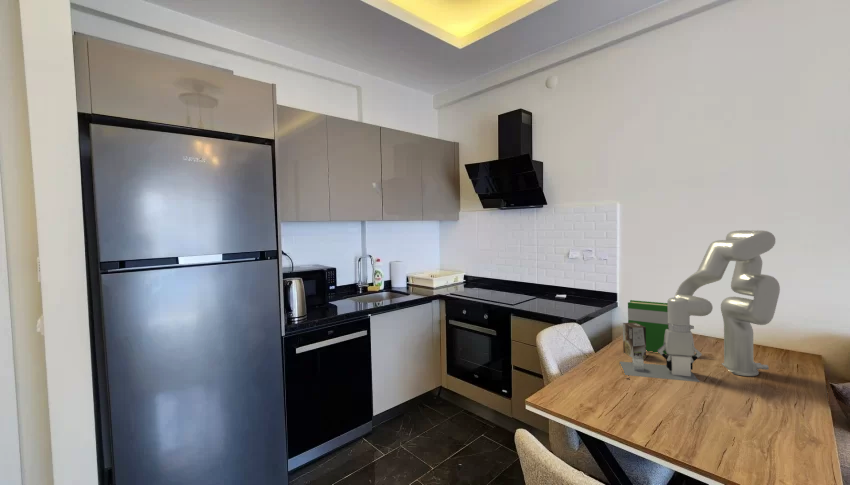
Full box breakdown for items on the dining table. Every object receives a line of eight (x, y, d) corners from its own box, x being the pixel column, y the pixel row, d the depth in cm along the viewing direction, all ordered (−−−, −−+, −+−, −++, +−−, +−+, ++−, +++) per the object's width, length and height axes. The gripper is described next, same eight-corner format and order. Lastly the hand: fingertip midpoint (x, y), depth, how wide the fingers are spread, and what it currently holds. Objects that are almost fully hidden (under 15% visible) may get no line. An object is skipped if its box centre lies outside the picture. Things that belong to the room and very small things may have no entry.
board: (686, 370, 157) (686, 366, 157) (700, 385, 142) (700, 381, 142) (619, 364, 166) (619, 361, 166) (625, 378, 151) (625, 374, 151)
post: (641, 368, 157) (641, 356, 157) (643, 371, 154) (643, 359, 154) (632, 367, 158) (632, 356, 158) (634, 370, 155) (633, 358, 155)
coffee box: (647, 361, 169) (646, 327, 168) (633, 361, 169) (632, 327, 168) (636, 354, 178) (635, 322, 177) (622, 354, 178) (622, 322, 177)
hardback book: (628, 348, 186) (627, 302, 186) (631, 344, 192) (630, 300, 191) (669, 355, 175) (669, 306, 175) (671, 350, 181) (670, 303, 180)
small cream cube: (685, 370, 153) (685, 352, 153) (690, 376, 147) (690, 357, 147) (668, 369, 155) (668, 351, 155) (672, 374, 149) (672, 356, 149)
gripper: (700, 326, 151) (700, 368, 151) (652, 324, 157) (653, 365, 157) (707, 331, 144) (707, 376, 144) (656, 329, 150) (657, 371, 150)
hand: (679, 369), depth 151 cm, fingers closed on small cream cube, 6 cm apart
